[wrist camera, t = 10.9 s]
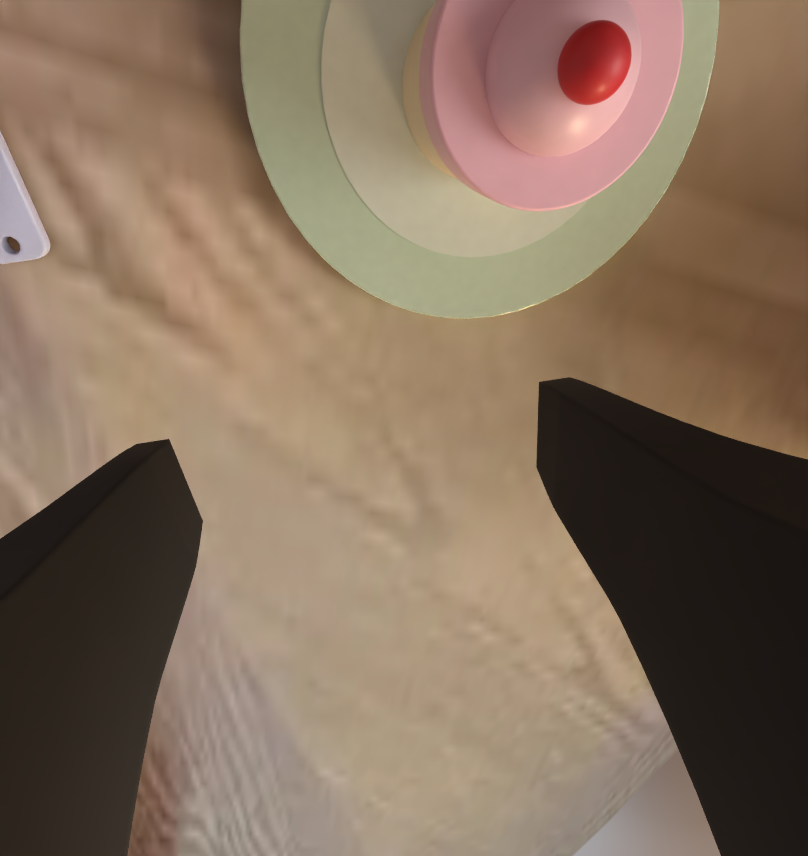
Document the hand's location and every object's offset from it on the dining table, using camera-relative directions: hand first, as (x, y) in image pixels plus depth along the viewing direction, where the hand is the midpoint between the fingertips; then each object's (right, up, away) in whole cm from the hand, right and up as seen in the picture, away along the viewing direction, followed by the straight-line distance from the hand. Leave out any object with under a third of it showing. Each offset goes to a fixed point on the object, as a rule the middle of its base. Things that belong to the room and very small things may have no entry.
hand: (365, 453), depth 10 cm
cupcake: (+3, +10, +5) cm, 12 cm away
